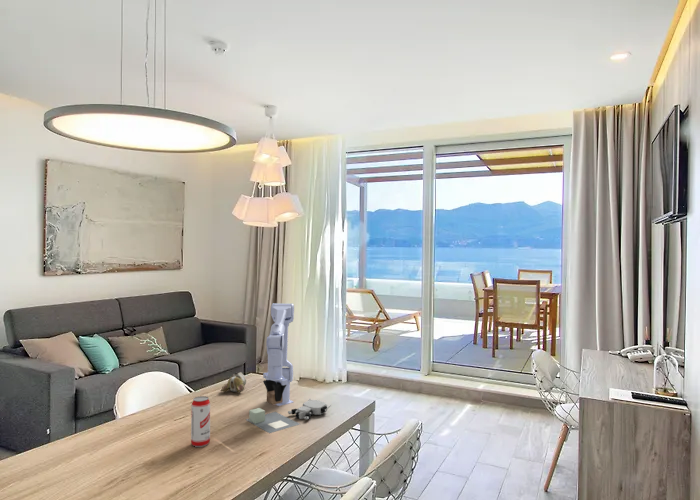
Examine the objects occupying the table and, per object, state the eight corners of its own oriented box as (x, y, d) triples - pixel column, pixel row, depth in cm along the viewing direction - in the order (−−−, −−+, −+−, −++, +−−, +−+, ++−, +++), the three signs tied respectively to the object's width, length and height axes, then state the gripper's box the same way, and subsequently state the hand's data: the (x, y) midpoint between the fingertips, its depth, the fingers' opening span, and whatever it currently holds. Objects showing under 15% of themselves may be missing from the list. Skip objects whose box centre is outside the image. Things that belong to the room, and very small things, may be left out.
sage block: (249, 420, 185) (249, 410, 185) (259, 417, 188) (259, 407, 188) (255, 423, 182) (255, 413, 182) (265, 420, 185) (265, 410, 185)
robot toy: (307, 426, 183) (332, 413, 195) (307, 415, 183) (332, 402, 194) (286, 419, 191) (311, 407, 202) (285, 408, 190) (311, 396, 202)
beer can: (213, 442, 165) (214, 396, 165) (202, 449, 159) (202, 402, 159) (198, 439, 167) (199, 394, 167) (187, 446, 161) (187, 400, 161)
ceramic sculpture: (251, 368, 232) (241, 379, 217) (251, 386, 232) (241, 397, 218) (230, 368, 233) (218, 378, 218) (230, 385, 233) (219, 396, 219)
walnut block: (266, 401, 186) (266, 391, 186) (276, 399, 189) (276, 389, 189) (272, 404, 183) (272, 394, 183) (282, 402, 186) (282, 392, 186)
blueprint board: (245, 420, 186) (245, 419, 186) (275, 412, 195) (275, 411, 195) (269, 434, 173) (269, 432, 173) (300, 425, 182) (300, 423, 182)
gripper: (256, 363, 189) (256, 397, 189) (276, 370, 178) (276, 406, 178) (271, 360, 193) (271, 393, 193) (291, 367, 183) (291, 402, 182)
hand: (274, 399), depth 186 cm, fingers closed on walnut block, 4 cm apart
